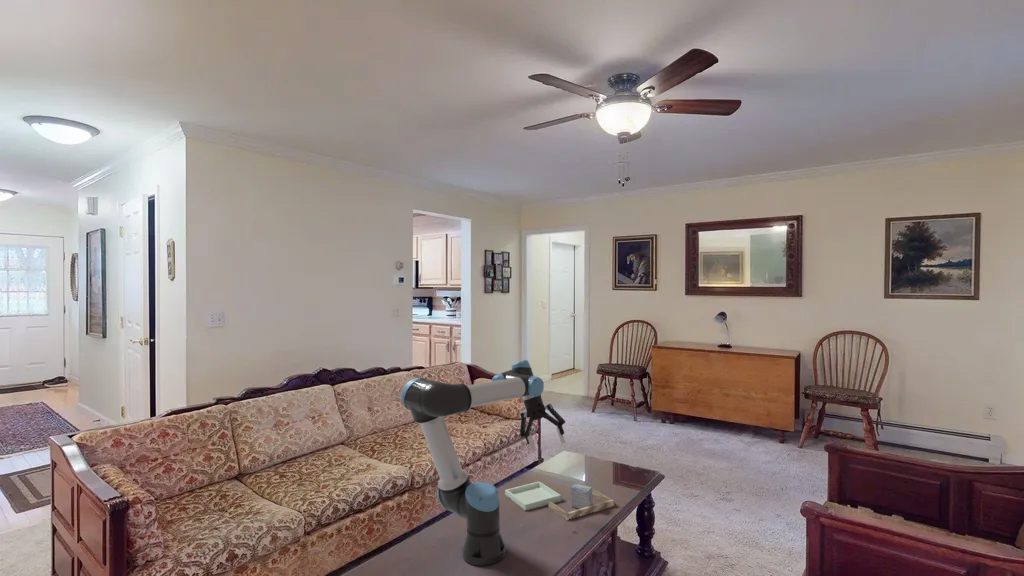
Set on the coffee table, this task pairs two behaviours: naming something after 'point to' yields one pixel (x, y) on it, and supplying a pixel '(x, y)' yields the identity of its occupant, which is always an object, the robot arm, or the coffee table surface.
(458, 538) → the coffee table surface
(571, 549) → the coffee table surface
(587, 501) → the medicine box
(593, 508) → the frame
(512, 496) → the sage-green tray
